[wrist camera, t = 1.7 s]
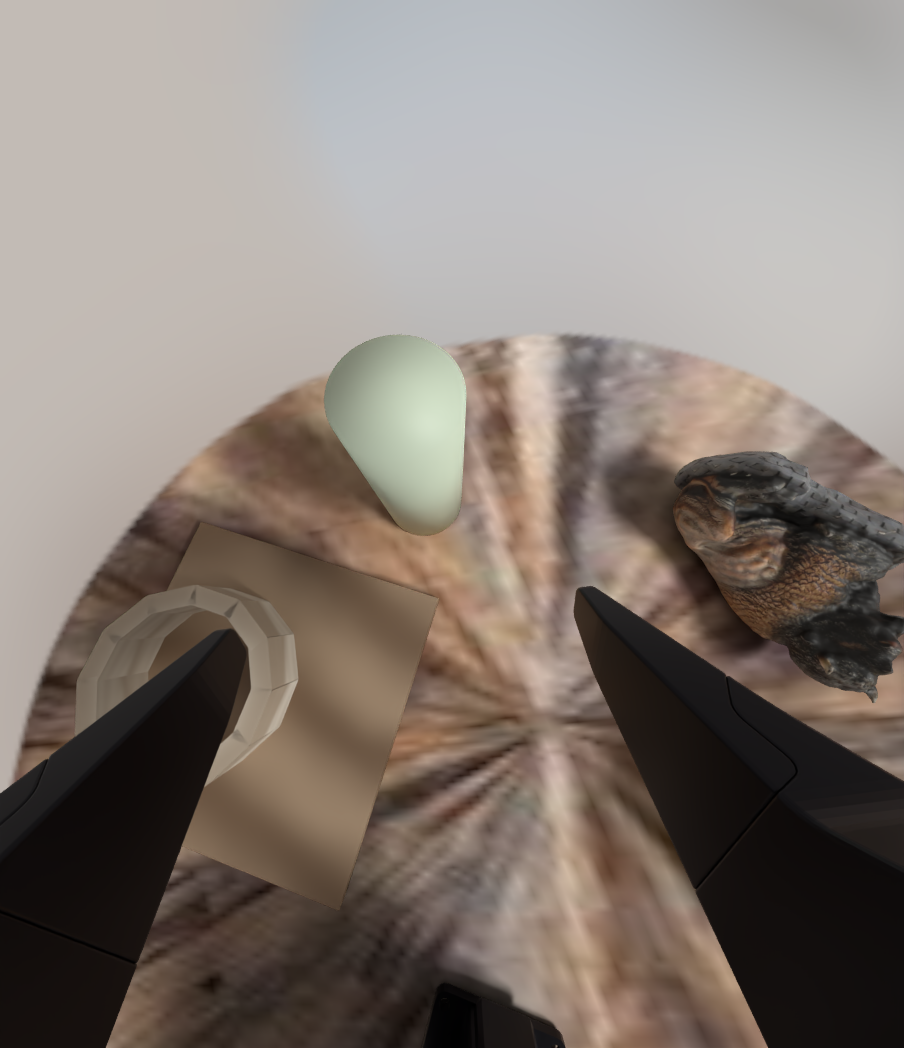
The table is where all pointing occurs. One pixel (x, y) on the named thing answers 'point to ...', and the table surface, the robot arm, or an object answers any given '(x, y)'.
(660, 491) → the table surface
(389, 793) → the table surface
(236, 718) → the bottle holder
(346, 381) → the pale green peg
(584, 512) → the table surface
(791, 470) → the dark brown lumpy piece
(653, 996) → the table surface
